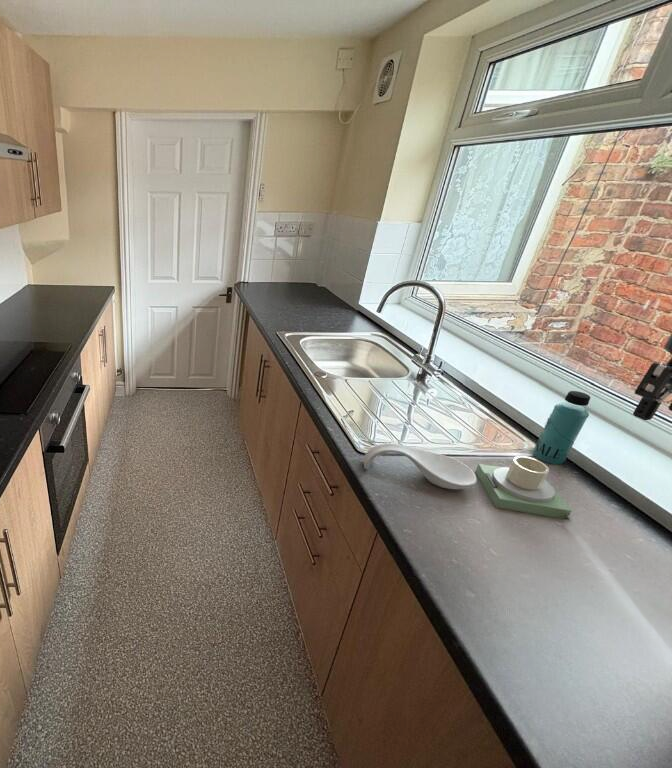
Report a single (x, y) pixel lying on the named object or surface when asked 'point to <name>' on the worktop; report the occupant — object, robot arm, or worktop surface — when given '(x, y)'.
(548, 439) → the beverage bottle
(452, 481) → the spoon rest
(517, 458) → the bowl
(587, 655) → the worktop surface
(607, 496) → the worktop surface
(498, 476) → the scale
